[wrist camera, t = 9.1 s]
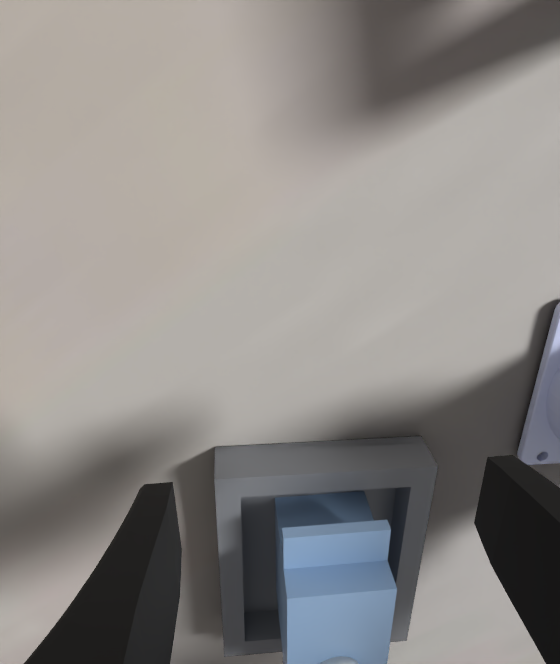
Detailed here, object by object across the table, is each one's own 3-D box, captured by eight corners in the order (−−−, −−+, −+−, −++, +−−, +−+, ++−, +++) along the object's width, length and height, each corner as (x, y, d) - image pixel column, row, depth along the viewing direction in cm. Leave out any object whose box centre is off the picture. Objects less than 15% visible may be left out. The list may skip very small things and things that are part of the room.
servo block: (366, 462, 23) (408, 577, 18) (354, 604, 27) (385, 732, 22) (274, 469, 22) (290, 587, 17) (276, 612, 27) (289, 742, 21)
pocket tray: (421, 436, 23) (438, 466, 21) (394, 604, 28) (406, 640, 26) (215, 446, 22) (214, 479, 21) (224, 618, 27) (224, 656, 25)
